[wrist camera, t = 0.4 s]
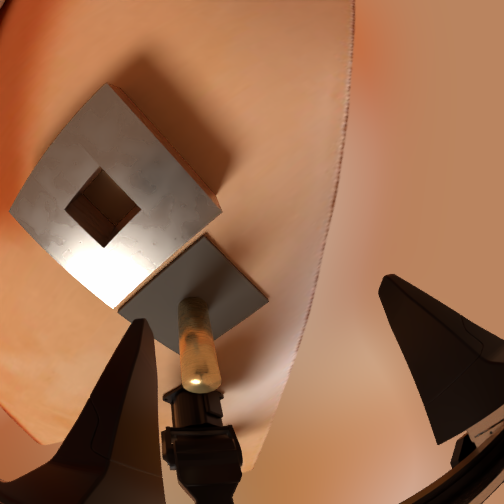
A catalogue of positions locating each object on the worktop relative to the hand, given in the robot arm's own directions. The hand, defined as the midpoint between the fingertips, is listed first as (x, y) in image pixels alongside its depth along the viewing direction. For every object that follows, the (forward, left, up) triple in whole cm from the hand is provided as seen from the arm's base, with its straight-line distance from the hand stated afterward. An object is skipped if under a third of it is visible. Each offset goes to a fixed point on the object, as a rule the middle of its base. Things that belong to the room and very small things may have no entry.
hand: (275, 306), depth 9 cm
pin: (-10, -7, -14) cm, 18 cm away
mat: (-10, -7, -15) cm, 19 cm away
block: (-6, +6, -15) cm, 17 cm away
